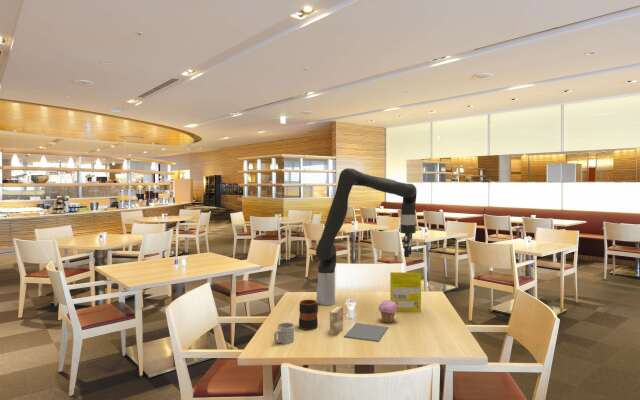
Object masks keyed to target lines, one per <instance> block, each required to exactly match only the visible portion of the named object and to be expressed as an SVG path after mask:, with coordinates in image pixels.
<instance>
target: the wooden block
mask: <svg viewBox="0 0 640 400" xmlns="http://www.w3.org/2000/svg"><path fill="white" fill-rule="evenodd" d="M329 329H330V330H329V335H330V336H331V335H332V336H339V334H340V333H341V332H343V330H344V307H343V306H341V307H340V306H336V307H334V308H333V309H332V310H331V311H330V312H329Z"/></svg>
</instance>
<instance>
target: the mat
mask: <svg viewBox="0 0 640 400" xmlns="http://www.w3.org/2000/svg"><path fill="white" fill-rule="evenodd" d="M388 329H389V326H384V325H378V324H377V325H376V324H369V323H368V324H367V323H360V322H356V323H355V324H354V325H353V326H352V327H351V328H350V329H349V330H348V331H347V332H346V333H345V334H344V335H343V337H344V338H347V339H354V340H362V341H370V342H377V343H379V342H380V341H381V340H382V337H383V336H384V335H385V334H386V332H387V330H388Z"/></svg>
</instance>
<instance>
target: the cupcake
mask: <svg viewBox="0 0 640 400" xmlns="http://www.w3.org/2000/svg"><path fill="white" fill-rule="evenodd" d="M378 310H379V312H380V314H381V321H382V322H383V323H392V322H394V319H395V313H396V312H398V311H397V310H398V309H397V304H396V303H395V302H393V301H390V300H388V299H385V300H382V301H381V303H380V304H379V306H378Z"/></svg>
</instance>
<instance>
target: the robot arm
mask: <svg viewBox="0 0 640 400" xmlns="http://www.w3.org/2000/svg"><path fill="white" fill-rule="evenodd" d="M353 186H358V187H360V186H361V187H366V188H370V189H373V190H375V191H378V192H382V193H386V194H389V195H395V196H398V197H401V198H402V203H401V207H400V233H401V234H404V236H403V246H402V247H403V249H404V251H403V252H404V254H403V255H404V258H409V257H410V255H411V254H412V246H413V234H416V232H417V229H416V228H417V220H416V219H417V217H416V203H417V202H416V201H417V192H418V191H417V187H416V186H415V185H414V184H413V183H406V182H405V183H404V182H400V181H396V180H394V179H390V178H385V177H382V176H381V177H380V176H374V175H369V174H367V173H363V172H362V171H358V170H357V169H355V168H350V167H349V168H344V169H343V170H341V171H340V173H339V176H338V181H337V186H336V190H335V193H334V196H333V199H332V202H331V205H330V208H329V211H328V213H327V217H326V221H325V224H324V227H323V230H322V231H323V232H322V234H321V236H320V238H319V240H318V241H319V242H318V244H317V246H316V248H315V255H316V258H317V260H320V261H319V264H318V266H317V285H316V302H317V303H318V305H321V306H331V305H334V304H335V303H336V271H335V270H336V266H337V247H336V246H335V244H334V242H335V239H336V237H337V235H338V234H339V232H340V230H341V229H342V227H343V225H344V223H345V219H346V217H347V213H348V208H349V207H348V206H349V196H350V194H351V191H352V188H353Z"/></svg>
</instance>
